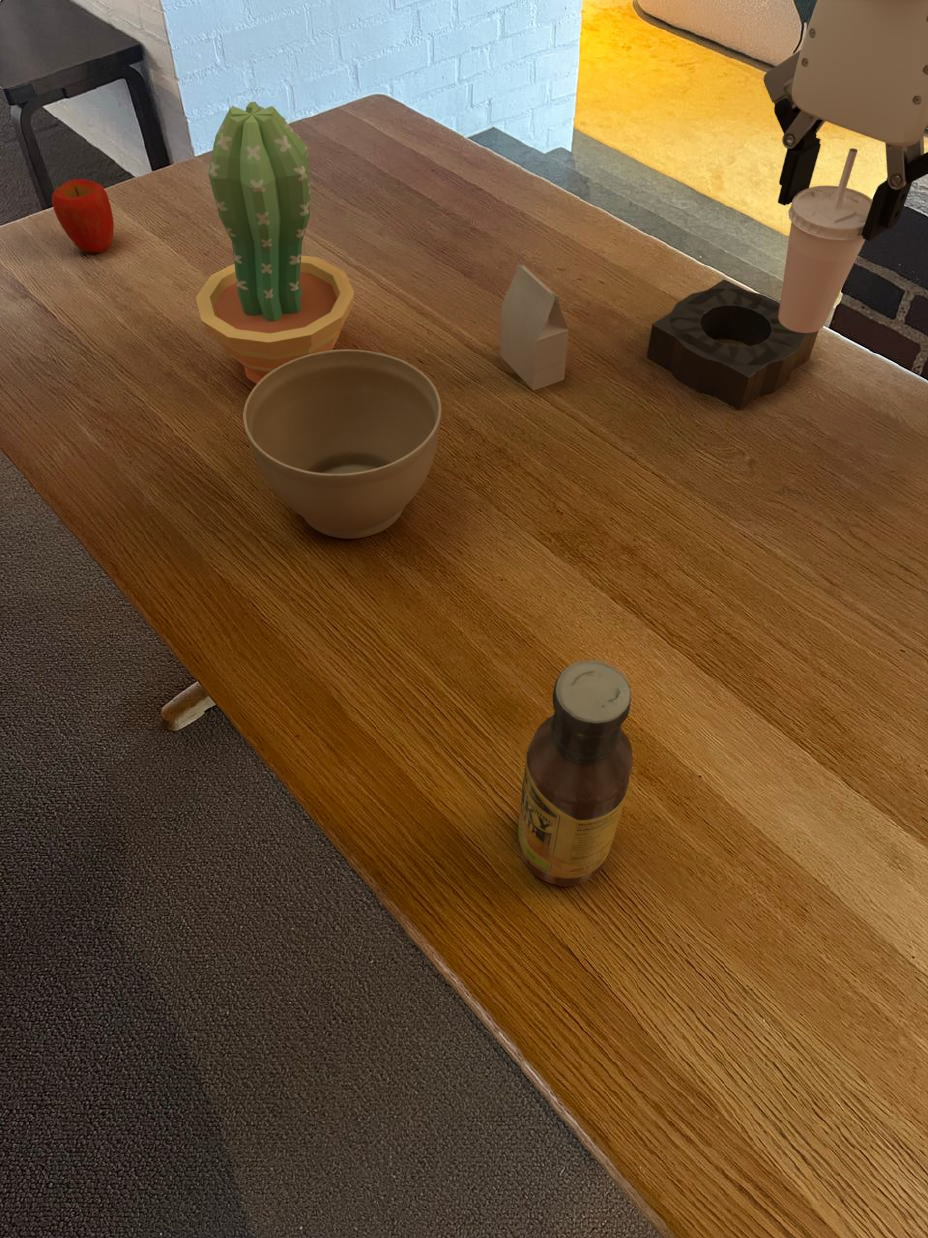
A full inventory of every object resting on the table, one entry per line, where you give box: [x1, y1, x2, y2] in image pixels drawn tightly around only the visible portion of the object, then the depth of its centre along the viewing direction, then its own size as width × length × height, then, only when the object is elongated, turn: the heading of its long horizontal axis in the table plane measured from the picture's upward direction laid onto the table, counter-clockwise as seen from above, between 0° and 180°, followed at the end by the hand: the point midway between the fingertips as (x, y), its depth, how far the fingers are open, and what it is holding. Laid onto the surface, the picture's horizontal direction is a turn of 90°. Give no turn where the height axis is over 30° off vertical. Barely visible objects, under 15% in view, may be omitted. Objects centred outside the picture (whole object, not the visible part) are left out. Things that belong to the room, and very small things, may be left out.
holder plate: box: [646, 278, 820, 411], centre depth 99 cm, size 13×13×4 cm
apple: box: [51, 178, 115, 254], centre depth 111 cm, size 6×6×8 cm
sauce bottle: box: [517, 659, 634, 888], centre depth 58 cm, size 6×6×20 cm
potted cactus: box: [195, 101, 355, 385], centre depth 90 cm, size 15×15×25 cm
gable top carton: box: [499, 263, 570, 392], centre depth 95 cm, size 4×7×10 cm, turn 29°
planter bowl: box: [242, 348, 443, 540], centre depth 82 cm, size 16×16×11 cm
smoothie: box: [778, 148, 873, 333], centre depth 73 cm, size 6×6×14 cm
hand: (833, 213), depth 71 cm, fingers closed on smoothie, 6 cm apart
